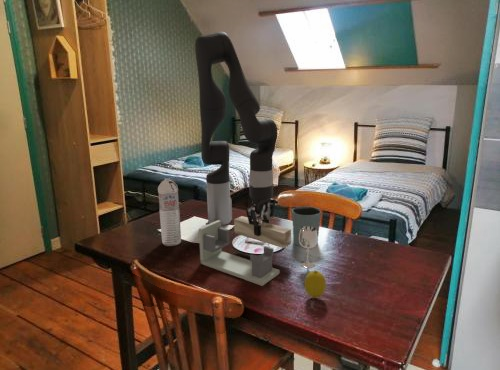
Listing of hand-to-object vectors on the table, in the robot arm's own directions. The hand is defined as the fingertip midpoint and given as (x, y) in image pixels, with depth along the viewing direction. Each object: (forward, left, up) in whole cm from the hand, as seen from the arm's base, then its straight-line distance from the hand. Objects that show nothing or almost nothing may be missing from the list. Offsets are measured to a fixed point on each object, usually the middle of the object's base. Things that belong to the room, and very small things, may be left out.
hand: (261, 232), depth 129 cm
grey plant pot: (-17, +7, -8) cm, 20 cm away
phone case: (-13, -10, -8) cm, 18 cm away
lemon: (+14, +27, -8) cm, 31 cm away
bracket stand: (+12, 0, -8) cm, 14 cm away
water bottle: (+11, -32, -8) cm, 35 cm away
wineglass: (-2, +16, -8) cm, 18 cm away
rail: (0, 0, -2) cm, 2 cm away
